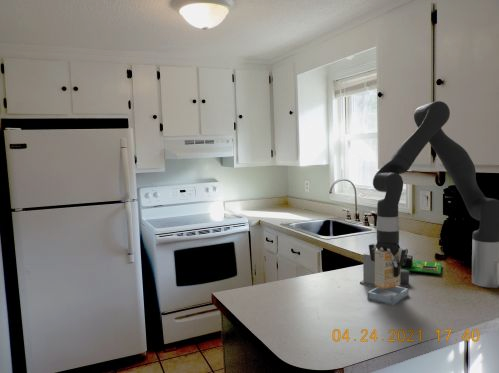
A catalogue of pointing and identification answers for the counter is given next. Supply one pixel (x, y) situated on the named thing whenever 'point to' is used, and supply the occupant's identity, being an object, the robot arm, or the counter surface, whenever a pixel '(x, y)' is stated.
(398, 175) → the robot arm
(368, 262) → the control box
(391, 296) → the tray
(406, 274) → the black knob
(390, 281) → the supplement box
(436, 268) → the electronic board model
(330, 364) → the counter surface
